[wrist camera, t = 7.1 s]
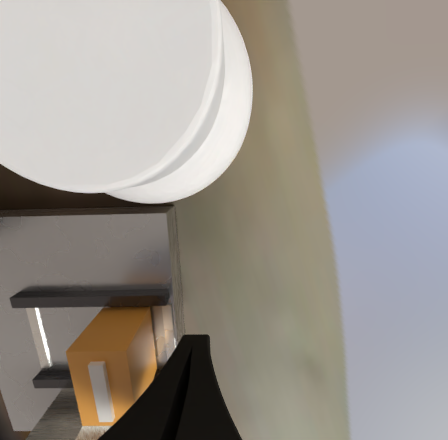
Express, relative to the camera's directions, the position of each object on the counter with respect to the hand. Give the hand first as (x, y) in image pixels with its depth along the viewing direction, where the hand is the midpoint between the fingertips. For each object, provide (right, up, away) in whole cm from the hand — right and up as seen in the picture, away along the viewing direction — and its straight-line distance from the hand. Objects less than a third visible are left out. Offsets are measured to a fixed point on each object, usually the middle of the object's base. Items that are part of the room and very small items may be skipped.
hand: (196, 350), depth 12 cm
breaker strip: (-7, +1, +3) cm, 7 cm away
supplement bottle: (-1, +12, +1) cm, 11 cm away
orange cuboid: (-4, 0, +1) cm, 4 cm away
